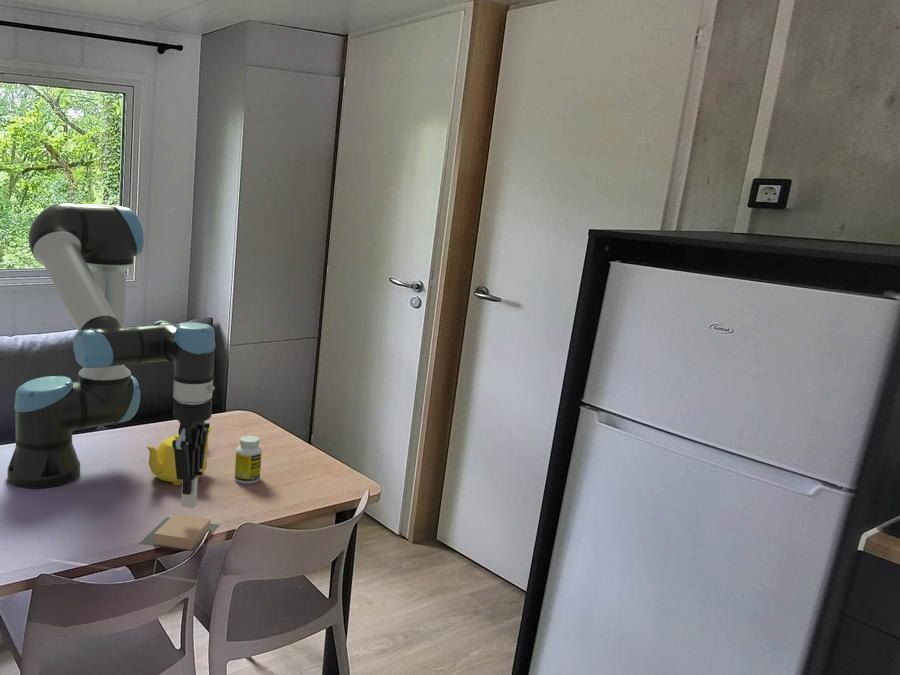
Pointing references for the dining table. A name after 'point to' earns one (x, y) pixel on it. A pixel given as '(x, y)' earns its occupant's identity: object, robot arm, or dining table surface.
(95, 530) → the dining table surface
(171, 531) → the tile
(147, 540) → the mat
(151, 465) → the teapot
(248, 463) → the pill bottle
